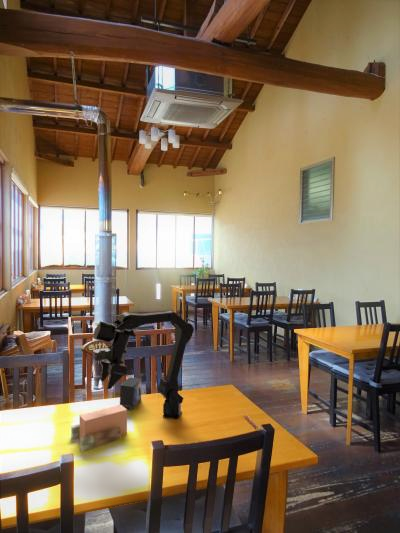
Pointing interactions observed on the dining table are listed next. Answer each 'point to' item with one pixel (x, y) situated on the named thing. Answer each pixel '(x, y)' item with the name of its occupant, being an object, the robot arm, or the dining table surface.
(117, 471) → the dining table surface
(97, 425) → the block
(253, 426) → the chocolate bar
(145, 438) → the dining table surface
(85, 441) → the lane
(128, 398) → the small box
